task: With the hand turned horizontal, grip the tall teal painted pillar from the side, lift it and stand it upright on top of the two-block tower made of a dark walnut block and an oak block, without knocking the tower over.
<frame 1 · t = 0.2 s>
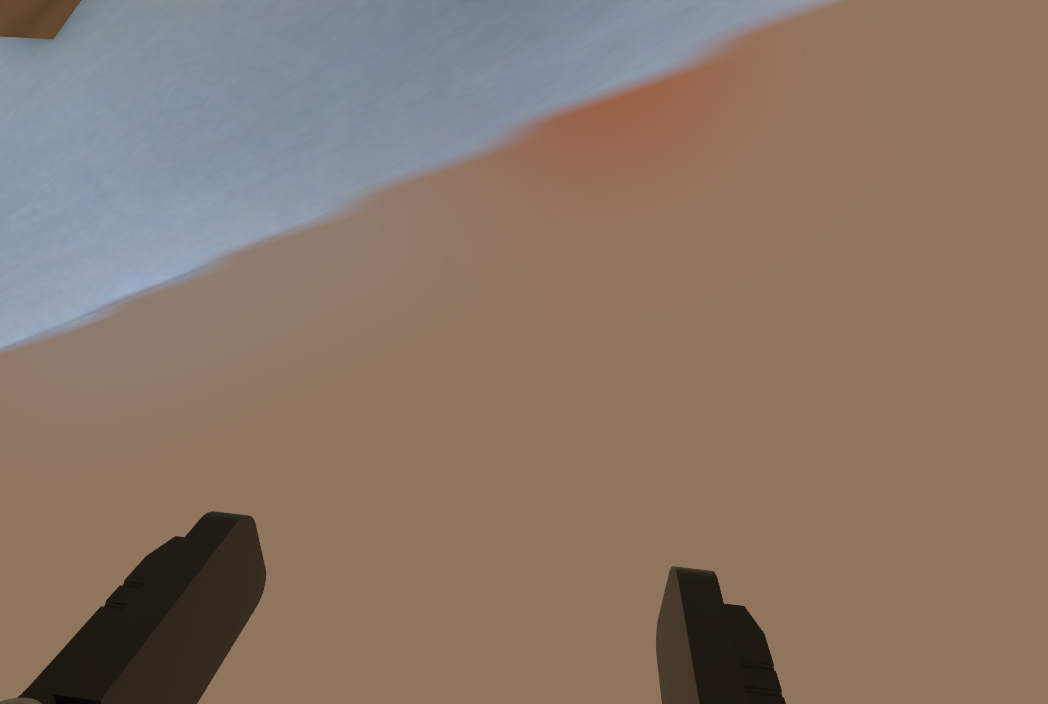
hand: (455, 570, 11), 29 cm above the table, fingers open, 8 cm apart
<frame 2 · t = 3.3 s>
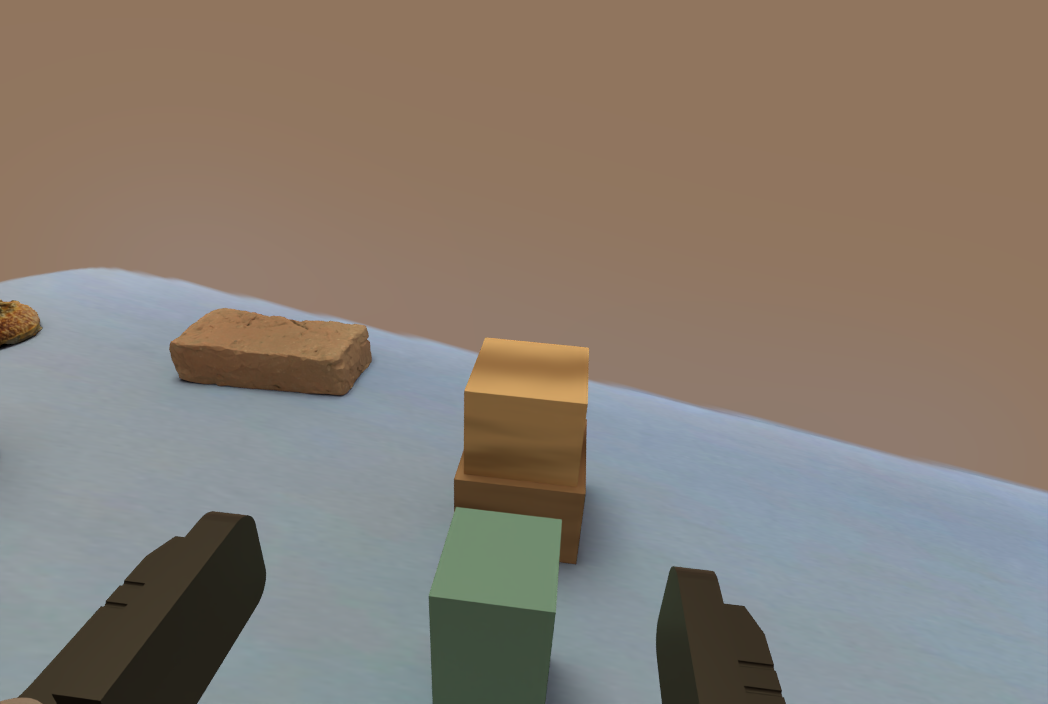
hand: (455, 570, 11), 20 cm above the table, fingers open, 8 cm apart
brick: (281, 372, 57), on the table
oak top block: (526, 445, 38), point 6 cm above the table, touching walnut base block
teal pillar: (494, 695, 29), on the table
walnut base block: (521, 514, 41), on the table, touching oak top block
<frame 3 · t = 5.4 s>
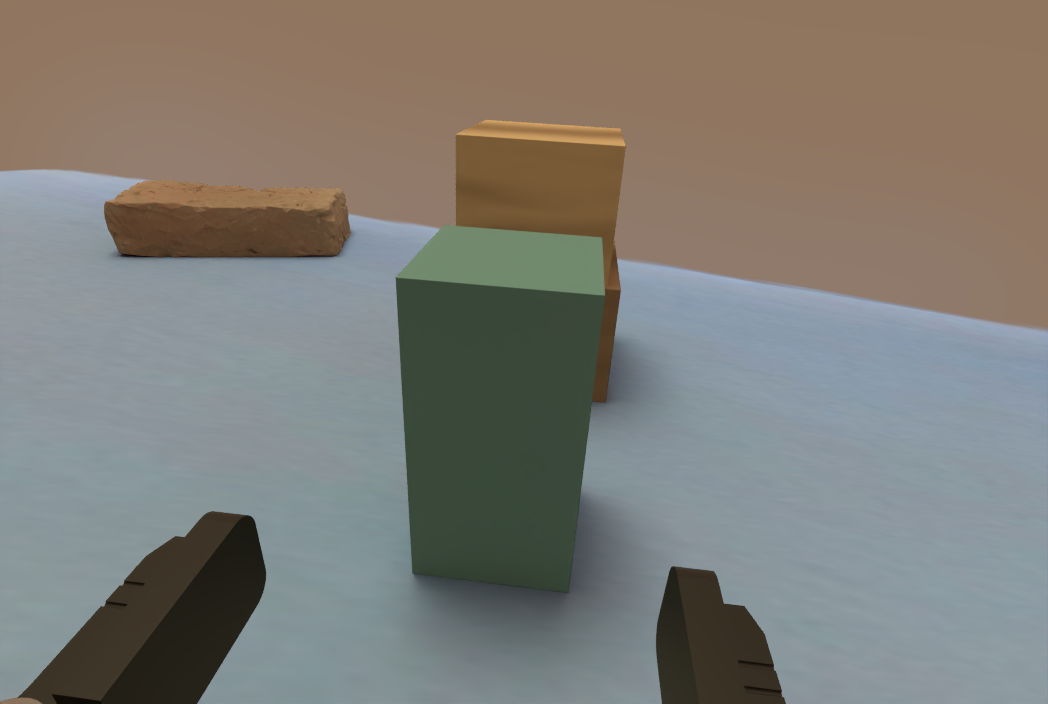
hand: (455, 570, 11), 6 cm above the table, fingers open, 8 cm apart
brick: (245, 247, 48), on the table
oak top block: (538, 256, 29), point 6 cm above the table, touching walnut base block
teal pillar: (501, 525, 20), on the table
walnut base block: (532, 359, 32), on the table, touching oak top block
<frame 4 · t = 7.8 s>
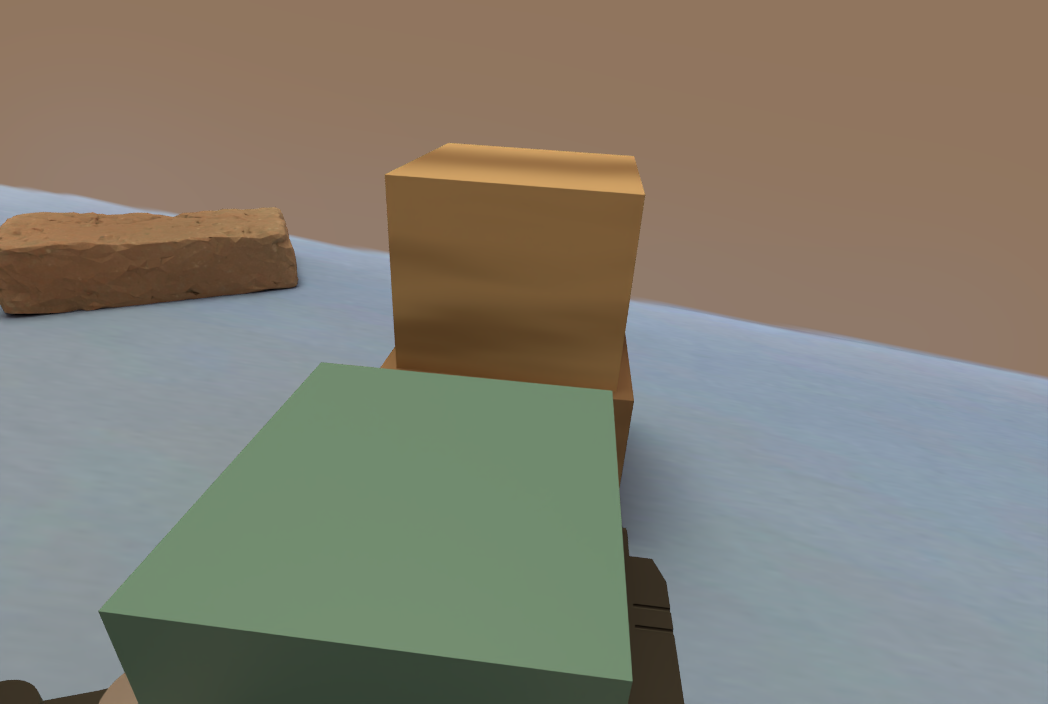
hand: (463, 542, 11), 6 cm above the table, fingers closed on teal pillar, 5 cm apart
brick: (170, 287, 39), on the table
oak top block: (519, 333, 21), point 6 cm above the table, touching walnut base block
walnut base block: (510, 462, 24), on the table, touching oak top block
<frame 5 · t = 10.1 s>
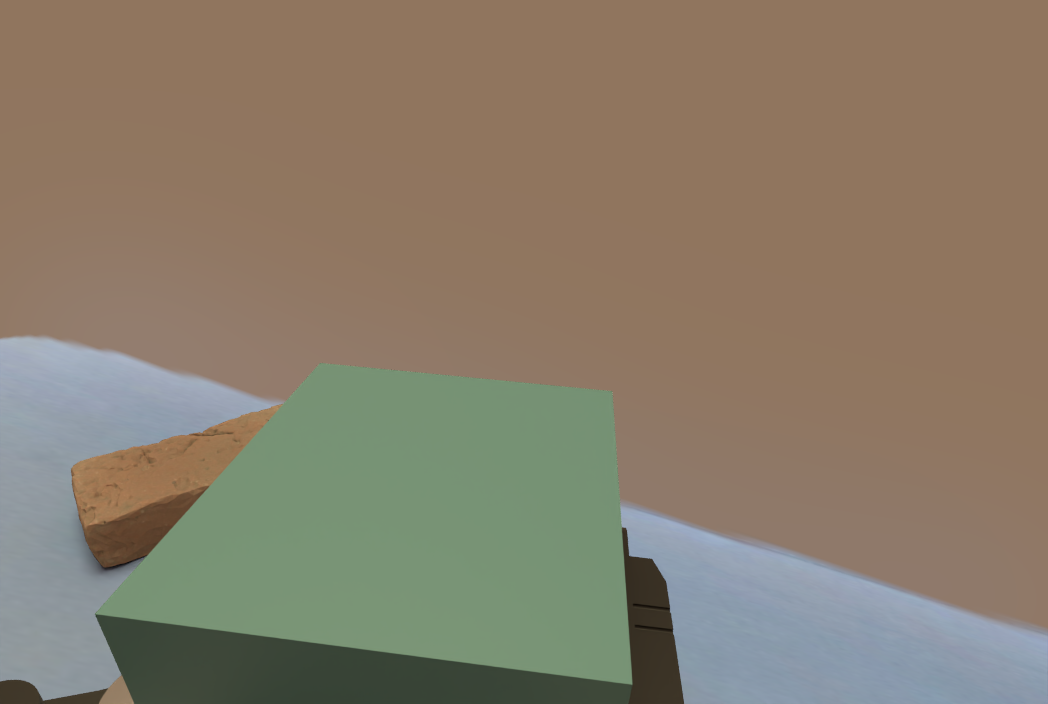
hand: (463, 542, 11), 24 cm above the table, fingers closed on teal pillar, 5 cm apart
brick: (214, 496, 46), on the table
when the fingers open (19 cm above the table, at t = 12.5 s): teal pillar drops 1 cm, resting on oak top block.
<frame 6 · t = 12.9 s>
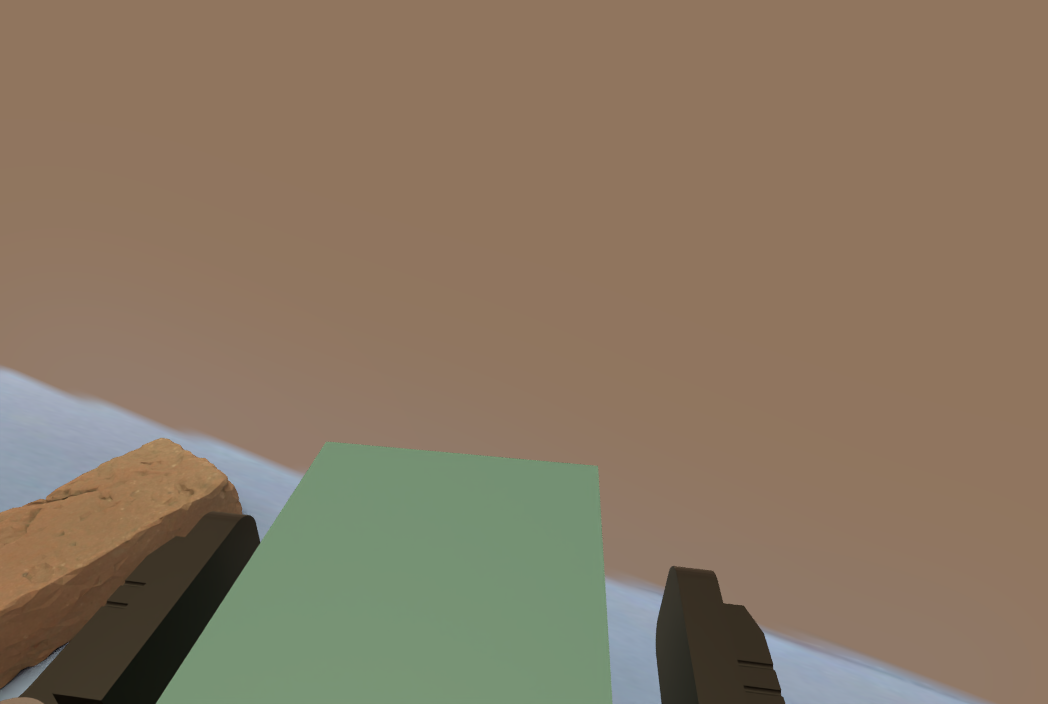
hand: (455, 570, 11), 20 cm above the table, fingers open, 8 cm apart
brick: (83, 580, 34), on the table
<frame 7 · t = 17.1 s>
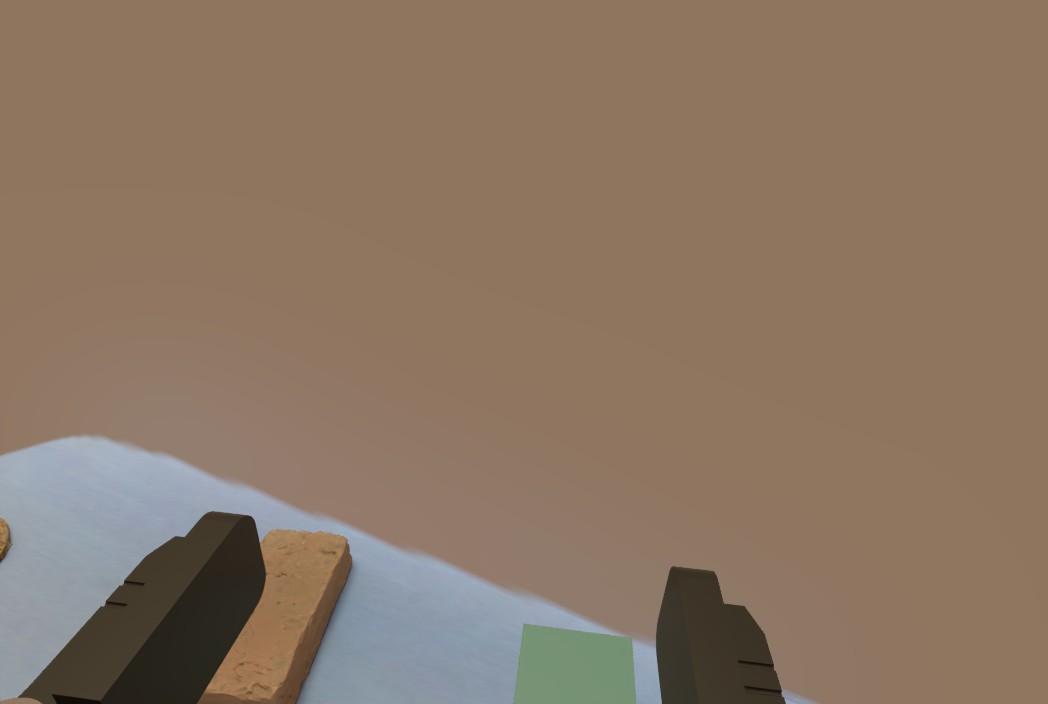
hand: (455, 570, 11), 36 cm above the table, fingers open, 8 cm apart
brick: (278, 634, 50), on the table
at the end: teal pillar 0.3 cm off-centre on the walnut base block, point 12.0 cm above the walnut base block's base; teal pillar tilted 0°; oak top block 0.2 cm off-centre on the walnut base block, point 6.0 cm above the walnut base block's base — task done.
